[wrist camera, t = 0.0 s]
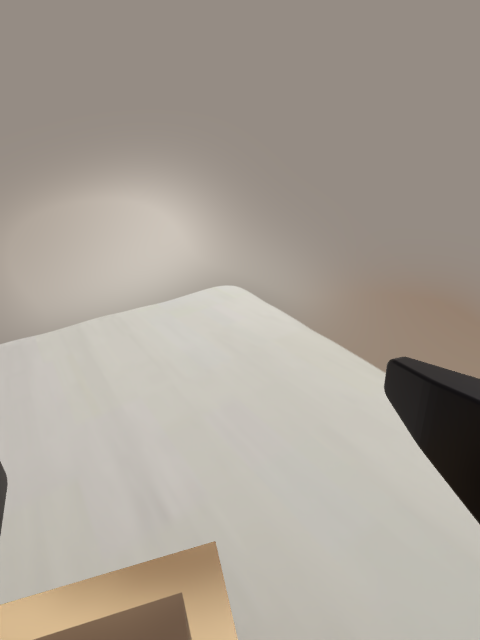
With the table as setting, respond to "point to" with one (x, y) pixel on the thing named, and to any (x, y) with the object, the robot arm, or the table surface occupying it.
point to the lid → (131, 604)
